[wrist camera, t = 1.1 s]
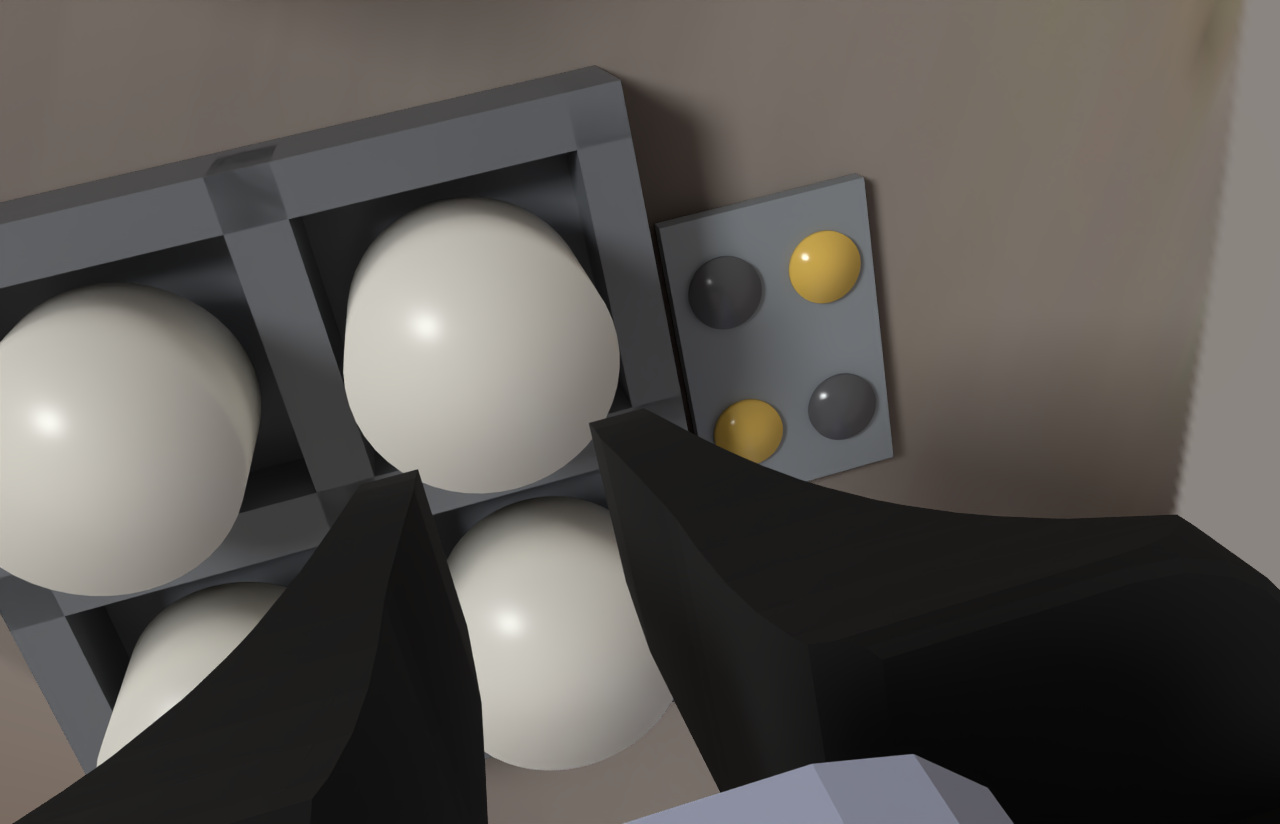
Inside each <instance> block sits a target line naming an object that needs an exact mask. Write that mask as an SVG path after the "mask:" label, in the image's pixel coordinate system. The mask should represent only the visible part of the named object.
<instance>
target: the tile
mask: <svg viewBox="0 0 1280 824" xmlns="http://www.w3.org/2000/svg"><path fill="white" fill-rule="evenodd" d="M654 225H655V230H656V235H657V241H658V246H659V251H660V256H661V262H662V267H663V272H664V277H665V283H666V288H667V293H668V298H669V304H670V309H671V314H672V320H673V325H674V330H675V335H676V341H677V346H678V351H679V356H680V362H681V367H682V372H683V377H684V383H685V388H686V393H687V399H688V404H689V409H690V414H691V420H692V425H693V430H694V434H695V435H697V436H699V437H701V438H703V439H705V440H707V441H709V442H711V443H713V444H715V445H717V446H719V447H721V448H723V449H726V450H728V451H730V452H732V453H734V454H737V455H739V456H741V457H743V458H746V459H748V460H750V461H753V462H755V463H758V464H760V465H762V466H765V467H768V468H771V469H773V470H776V471H779V472H781V473H784V474H787V475H789V476H792V477H795V478H798V479H800V480H803V481H810V480H813V479H817V478H820V477H824V476H827V475H831V474H834V473H838V472H841V471H845V470H849V469H852V468H856V467H859V466H863V465H866V464H870V463H873V462H877V461H880V460H884V459H887V458H891V457H893V448H892V438H891V429H890V420H889V410H888V401H887V391H886V382H885V372H884V363H883V353H882V344H881V334H880V325H879V315H878V306H877V296H876V287H875V277H874V268H873V258H872V249H871V239H870V230H869V220H868V211H867V201H866V192H865V182H864V177H862V176H860V175H858V174H856V173H855V174H851V175H847V176H843V177H839V178H835V179H831V180H827V181H823V182H819V183H815V184H811V185H807V186H803V187H799V188H795V189H791V190H787V191H783V192H779V193H775V194H771V195H767V196H763V197H759V198H755V199H751V200H747V201H743V202H739V203H735V204H731V205H727V206H723V207H719V208H715V209H711V210H707V211H703V212H699V213H695V214H691V215H687V216H683V217H679V218H675V219H671V220H667V221H663V222H659V223H655V224H654Z"/></svg>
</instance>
